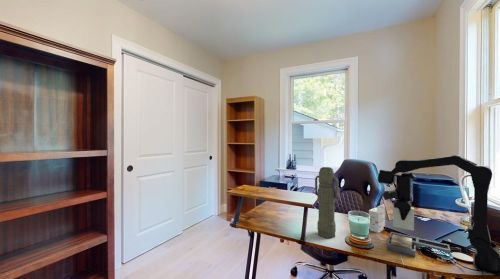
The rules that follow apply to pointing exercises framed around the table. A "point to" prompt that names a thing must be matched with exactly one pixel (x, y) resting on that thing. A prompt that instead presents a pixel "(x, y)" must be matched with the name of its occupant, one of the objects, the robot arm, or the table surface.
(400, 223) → the pale grey block
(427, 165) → the robot arm
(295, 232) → the table surface
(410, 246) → the block
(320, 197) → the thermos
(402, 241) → the offcut top
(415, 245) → the rack
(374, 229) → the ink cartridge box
